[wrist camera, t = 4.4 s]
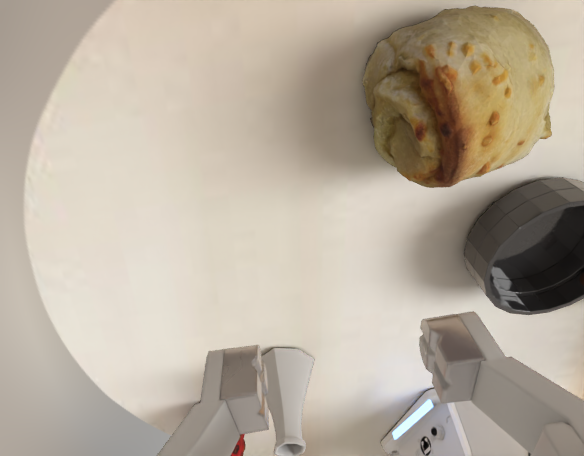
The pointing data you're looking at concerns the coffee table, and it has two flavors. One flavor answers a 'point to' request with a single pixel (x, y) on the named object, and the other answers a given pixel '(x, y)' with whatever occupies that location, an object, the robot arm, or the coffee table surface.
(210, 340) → the coffee table surface
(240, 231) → the coffee table surface
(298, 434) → the flask
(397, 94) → the pastry
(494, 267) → the pan
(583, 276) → the pan handle
